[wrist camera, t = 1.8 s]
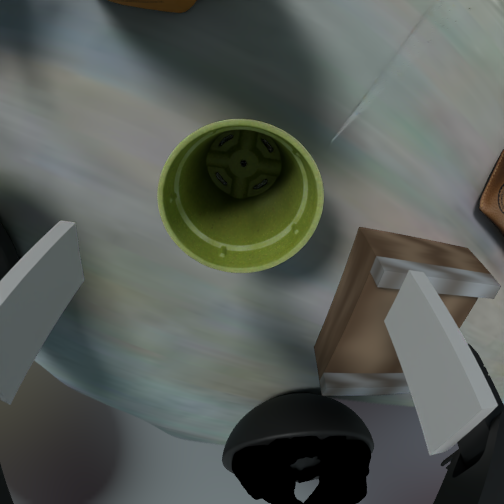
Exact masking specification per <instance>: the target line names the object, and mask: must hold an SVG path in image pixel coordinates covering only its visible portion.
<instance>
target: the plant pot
mask: <svg viewBox="0 0 504 504" xmlns="http://www.w3.org/2000/svg"><path fill="white" fill-rule="evenodd" d="M228 135H233V138H232V139H230V140H228V141H227V142H225V143H224V144H223V145H222V146H219V145H220V142H221V141H222V140H223V139H224V138H225V137H227V136H228ZM261 139H265V140H266V141H267V142H268V143H269V144H270V145H271V147H272V148H273V152H272V153H270V152H269V150H268V148H267V147H266V146H265V144H264V143H263V142H262V141H261ZM242 160H244V161H246V162H247V165H246V166H242V165H241V164H240V163H241V161H242ZM216 172H219V174H220V175H221V177H222V178H223V179H224V180H225V182H227V185H223V184H222V183H221V181H219V180H218V179H217V177H216V175H215V174H216ZM264 179H268V182H267V183H266V184H265V185H264V186H262V187H261V188H259V189H254V186H255V185H257V184H259V183H261V182H262V181H263V180H264ZM157 199H158V208H159V212H160V216H161V219H162V222H163V224H164V227H165V229H166V231H167V232H168V234H169V236H170V237H171V238H172V240H173V241H174V242H175V243H176V244H177V245H178V246H179V248H180V249H181V250H182V251H183V252H185V253H186V254H187V255H188V256H190V257H191V258H193V259H195V260H196V261H198V262H199V263H201V264H203V265H205V266H208V267H210V268H213V269H217V270H221V271H225V272H231V273H251V272H258V271H262V270H266V269H269V268H272V267H275V266H277V265H279V264H281V263H282V262H284V261H286V260H288V259H289V258H291V257H292V256H294V255H295V254H296V253H297V252H298V251H299V250H301V249H302V248H303V247H304V245H305V244H306V243H307V242H308V240H309V239H310V238H311V236H312V235H313V233H314V231H315V230H316V228H317V225H318V223H319V220H320V217H321V214H322V211H323V204H324V189H323V182H322V178H321V175H320V172H319V169H318V167H317V165H316V163H315V161H314V159H313V158H312V156H311V155H310V153H309V152H308V151H307V150H306V148H305V147H304V146H303V145H302V144H301V143H300V142H299V141H298V140H296V139H295V138H294V137H293V136H291V135H290V134H288V133H287V132H285V131H284V130H282V129H280V128H278V127H276V126H273V125H271V124H268V123H265V122H262V121H257V120H251V119H228V120H222V121H218V122H214V123H211V124H209V125H206V126H204V127H202V128H200V129H198V130H196V131H195V132H193V133H192V134H190V135H189V136H187V137H186V138H185V139H184V140H183V141H181V142H180V143H179V144H178V145H177V147H176V148H175V149H174V150H173V151H172V153H171V154H170V156H169V157H168V159H167V161H166V163H165V165H164V167H163V170H162V172H161V175H160V179H159V183H158V192H157Z"/></svg>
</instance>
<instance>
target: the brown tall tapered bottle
mask: <svg viewBox="0 0 504 504" xmlns="http://www.w3.org/2000/svg"><path fill="white" fill-rule="evenodd" d="M108 1H111V2H114V3H118V4H121V5H127V6H133V7H139V8H144V9H152V10H159V11H165V12H175V13H182V12H186V11H187V10H189V9H190V8H191V7H192V6H193V5H194V4H195V2H196V1H197V0H108Z"/></svg>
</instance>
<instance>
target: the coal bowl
mask: <svg viewBox="0 0 504 504" xmlns="http://www.w3.org/2000/svg"><path fill="white" fill-rule="evenodd" d="M373 449H374V443H373V439H372V437H371V434H370V432H369V430H368V428H367V427H366V425H365V424H364V422H363V421H362V420H361V419H360V417H359V416H358V415H357V414H356V413H355V412H354V411H352V410H351V409H350V408H348V407H347V406H346V405H344V404H342V403H340V402H338V401H336V400H334V399H332V398H329V397H326V396H322V395H317V394H309V393H297V394H288V395H283V396H280V397H276V398H273V399H271V400H268V401H266V402H264V403H262V404H260V405H259V406H257V407H255V408H254V409H253V410H251V411H250V412H249V413H247V414H246V415H245V416H244V417H243V418H242V419H241V420H240V421H239V423H238V424H237V425H236V426H235V428H234V429H233V431H232V432H231V434H230V436H229V438H228V440H227V442H226V445H225V448H224V452H223V457H222V462H223V465H224V467H225V468H226V469H227V470H229V471H230V472H232V473H234V474H235V476H236V477H237V478H238V480H239V481H240V482H241V485H242V486H243V487H244V488H245V490H246V491H247V493H248V494H249V495H251V496H252V497H253V498H254V499H256V500H258V499H261V498H263V499H264V500H265V501H267V502H268V503H271V504H356V503H359V502H360V501H361V500H362V499H363V498H364V497H365V496H366V494H367V484H366V476H367V475H368V474H369V463H370V459H371V453H372V451H373ZM314 479H319V484H318V486H317V487H316V489H315V490H314V491H313V493H312V494H311V495H310V496H309V498H308V499H307V500H306V501H305V502H304V503H302V502H301V501H299V500H297V499H296V497H295V494H294V489H295V484H296V483H295V482H299V483H301V482H305V481H310V480H314Z"/></svg>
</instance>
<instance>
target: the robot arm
mask: <svg viewBox="0 0 504 504" xmlns="http://www.w3.org/2000/svg"><path fill="white" fill-rule="evenodd" d="M84 280H85V279H84V274H83V268H82V262H81V256H80V250H79V243H78V236H77V228H76V222H69V221H61V220H60V221H59V222H58V223H57V224H56V225H55V226H54V227H53V228H52V229H51V230H50V231H48V232H47V233H46V234H45V235H44V236H43V237H42V238H41V239H40V240H39V241H38V242H37V243H36V244H35V245H34V246H33V247H32V248H31V249H30V250H29V251H28V252H27V253H26V254H25V255H24V256H23V257H22V258H21V259H20V260H19V259H18V256H17V253H16V251H15V248H14V246H13V244H12V242H11V240H10V238H9V236H8V234H7V232H6V231H5V229H4V228H3V226H2V225H1V223H0V400H2V401H4V402H6V403H8V404H11V402H12V400H13V398H14V396H15V394H16V392H17V390H18V389H19V386H20V385H21V383H22V381H23V379H24V377H25V375H26V374H27V371H28V370H29V368H30V366H31V364H32V363H33V361H34V359H35V357H36V356H37V354H38V352H39V350H40V349H41V347H42V345H43V344H44V342H45V340H46V339H47V337H48V335H49V334H50V332H51V330H52V329H53V327H54V326H55V324H56V322H57V321H58V319H59V318H60V316H61V315H62V313H63V311H64V310H65V308H66V307H67V305H68V304H69V302H70V301H71V299H72V298H73V296H74V295H75V293H76V292H77V290H78V289H79V287H80V286H81V285H82V283H83V282H84ZM384 322H385V325H386V327H387V330H388V332H389V335H390V337H391V340H392V343H393V345H394V348H395V351H396V353H397V356H398V359H399V361H400V364H401V367H402V370H403V372H404V375H405V378H406V381H407V384H408V387H409V390H410V393H411V396H412V399H413V402H414V405H415V408H416V411H417V414H418V417H419V420H420V424H421V427H422V431H423V434H424V438H425V441H426V445H427V448H428V452H429V455H433V454H437V453H441V452H446V451H447V450H449V449H450V448H451V447H452V446H454V445H455V444H456V443H458V446H459V449H458V450H457V451H456V452H454V453H453V454H452V455H450V456H449V457H448V458H446V459H445V460H444V461H443V462H442V463H441V466H444V465H445V464H447V463H448V462H449V461H451V463H450V465H448V466H447V467H446V469H448V471H447V473H446V476H445V478H444V480H443V483H442V485H441V487H440V490H439V492H438V494H437V497H436V499H435V501H434V503H433V504H504V405H503V403H502V401H501V398H500V396H499V394H498V392H497V390H496V388H495V386H494V384H493V382H492V380H491V378H490V376H488V372H487V370H486V368H485V367H484V366H483V365H484V364H483V362H482V360H481V358H480V356H479V355H478V353H477V352H476V351H475V350H474V349H473V348H472V346H471V345H470V344H467V342H466V340H465V339H464V337H463V335H462V333H461V332H460V330H459V328H458V326H457V325H456V323H455V321H454V319H453V318H452V316H451V314H450V313H449V311H448V309H447V308H446V306H445V305H444V303H443V301H442V300H441V298H440V297H439V295H438V293H437V292H436V290H435V289H434V287H433V286H432V284H431V282H430V281H429V279H428V278H427V276H426V275H425V273H424V272H419V271H412V270H409V271H408V273H407V275H406V278H405V280H404V282H403V284H402V286H401V288H400V290H399V292H398V294H397V297H396V299H395V301H394V303H393V305H392V307H391V309H390V310H389V312H388V314H387V316H386V318H385V320H384ZM0 504H14V503H13V501H12V498H11V495H10V492H9V490H8V487H7V484H6V481H5V478H4V475H3V471H2V468H1V464H0Z"/></svg>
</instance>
